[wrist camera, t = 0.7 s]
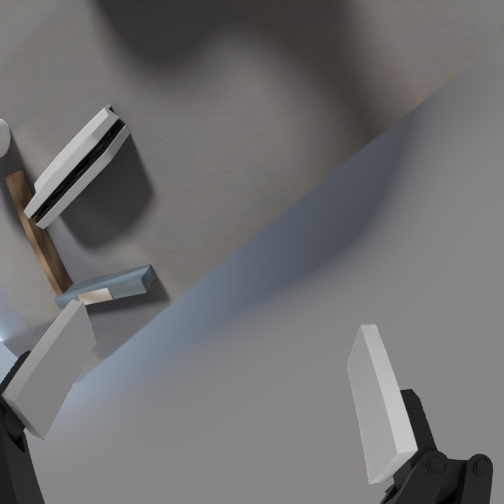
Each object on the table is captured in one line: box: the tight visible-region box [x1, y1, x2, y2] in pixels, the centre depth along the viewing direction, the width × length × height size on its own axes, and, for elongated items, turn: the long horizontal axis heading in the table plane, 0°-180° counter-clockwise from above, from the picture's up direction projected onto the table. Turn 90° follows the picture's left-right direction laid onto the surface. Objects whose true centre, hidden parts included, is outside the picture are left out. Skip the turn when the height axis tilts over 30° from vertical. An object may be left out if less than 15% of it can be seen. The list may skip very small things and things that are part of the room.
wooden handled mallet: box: [5, 169, 156, 310], centre depth 37 cm, size 22×17×4 cm
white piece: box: [24, 104, 130, 229], centre depth 32 cm, size 17×5×10 cm, turn 123°
